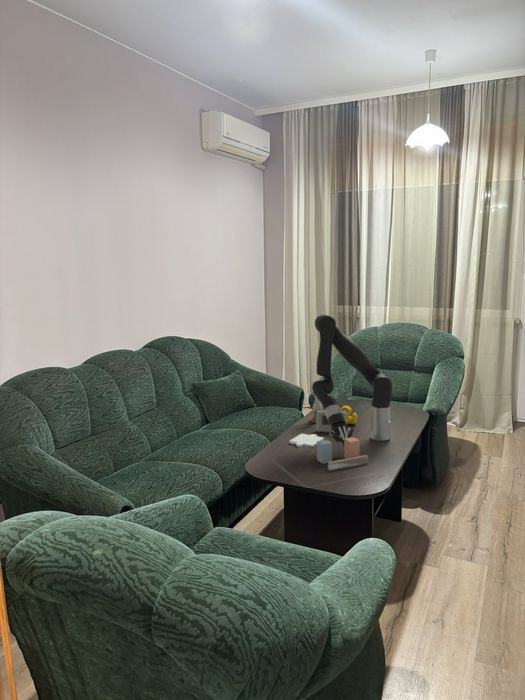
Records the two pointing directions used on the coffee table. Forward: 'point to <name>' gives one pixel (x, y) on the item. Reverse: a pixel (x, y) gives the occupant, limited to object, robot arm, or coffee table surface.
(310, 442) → the mounting plate
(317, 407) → the candle holder
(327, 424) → the digital clock
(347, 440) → the reddish brown block
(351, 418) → the duckling
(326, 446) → the grey blue rectangular block
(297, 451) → the coffee table surface
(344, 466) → the wooden tray
